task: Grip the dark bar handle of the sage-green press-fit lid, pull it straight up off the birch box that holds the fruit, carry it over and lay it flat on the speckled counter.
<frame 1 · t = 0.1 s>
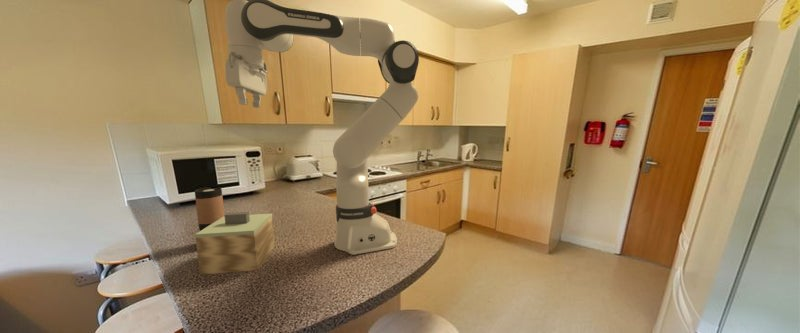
hand: (250, 106, 78), 48 cm above the counter, fingers open, 8 cm apart
box: (241, 259, 78), on the counter
travel mug: (214, 243, 90), on the counter
fruit: (241, 259, 78), resting in box
lid: (238, 225, 77), point 11 cm above the counter, touching box
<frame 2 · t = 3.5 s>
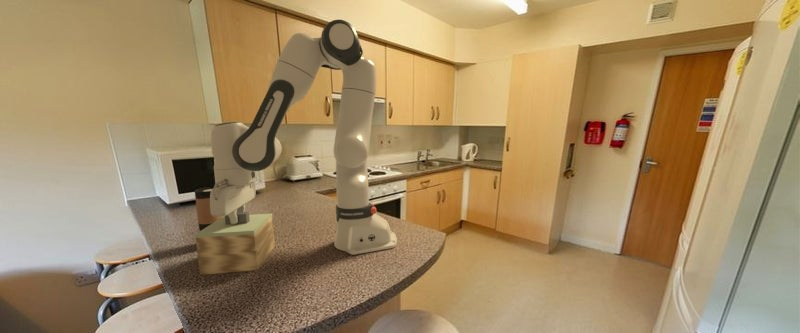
hand: (237, 220, 76), 13 cm above the counter, fingers closed on lid
lid: (238, 225, 77), point 11 cm above the counter, touching box, gripper
everything else where it was.
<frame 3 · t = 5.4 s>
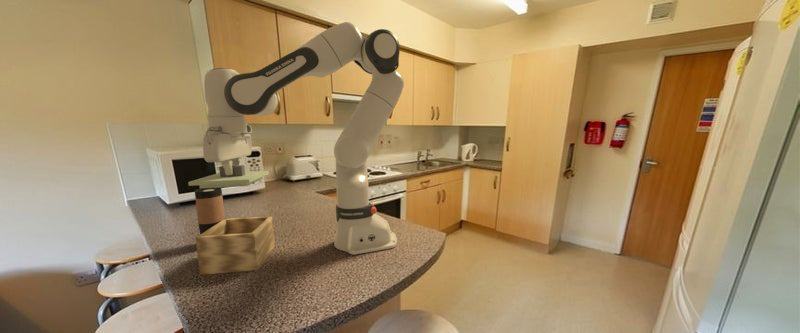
hand: (233, 173, 74), 27 cm above the counter, fingers closed on lid
lid: (233, 179, 75), point 26 cm above the counter, touching gripper
everything else where it was.
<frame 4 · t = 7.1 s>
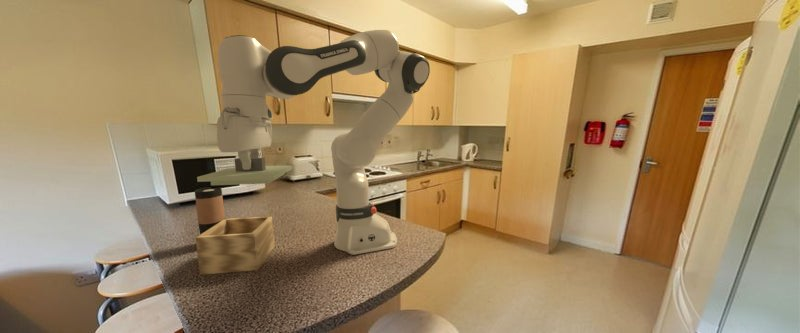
hand: (251, 168, 60), 31 cm above the counter, fingers closed on lid
lid: (251, 174, 61), point 29 cm above the counter, touching gripper
everything else where it was.
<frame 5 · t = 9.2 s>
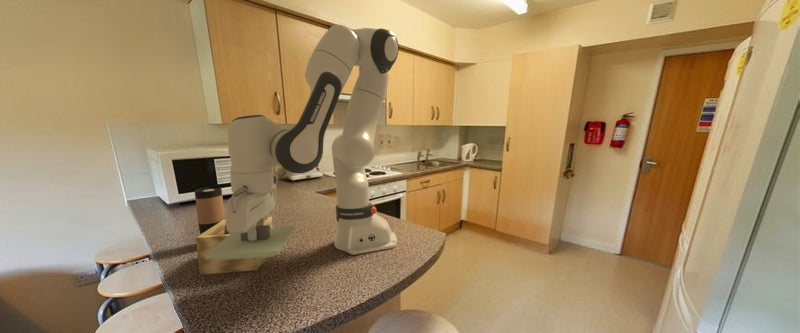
hand: (256, 236, 62), 14 cm above the counter, fingers closed on lid
lid: (256, 242, 62), point 12 cm above the counter, touching gripper
everything else where it was.
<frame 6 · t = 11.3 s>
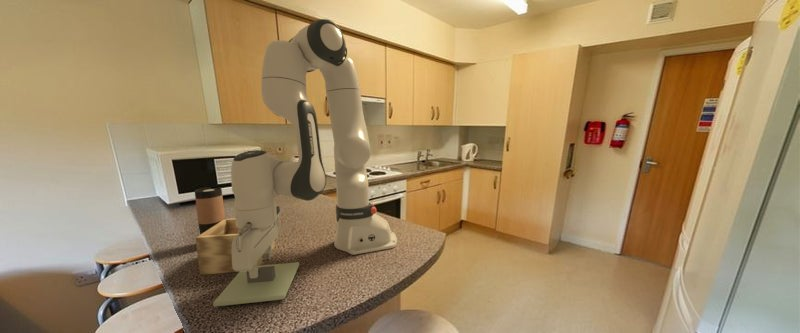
hand: (261, 267, 64), 5 cm above the counter, fingers open, 6 cm apart
lid: (262, 283, 64), point 1 cm above the counter
everything else where it was.
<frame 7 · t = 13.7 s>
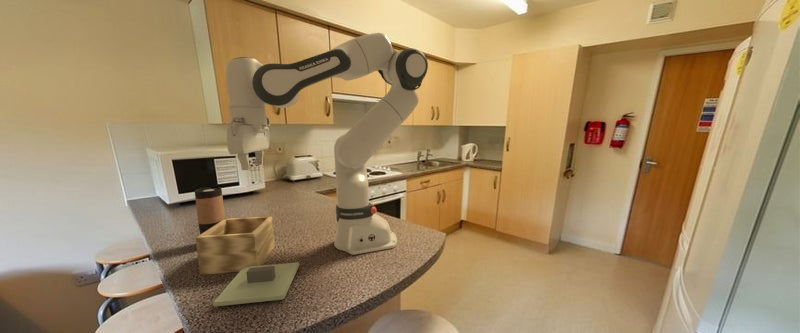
hand: (253, 167, 72), 30 cm above the counter, fingers open, 8 cm apart
nothing on the counter moved.
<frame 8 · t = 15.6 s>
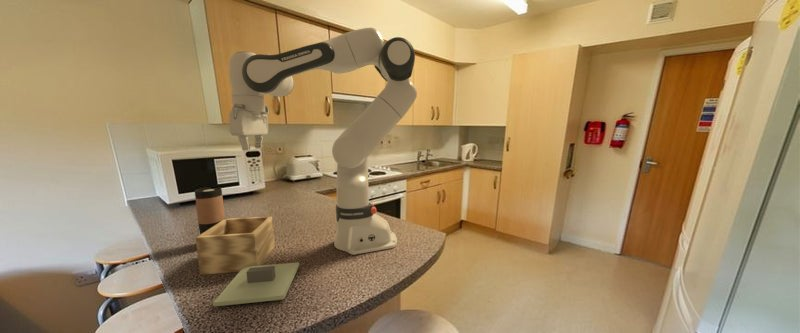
hand: (252, 149, 82), 34 cm above the counter, fingers open, 8 cm apart
nothing on the counter moved.
at the end: lid inside the target area (0.1 cm from its centre), point 0.8 cm above the counter; lid tilted 0°; the gripper is holding nothing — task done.
